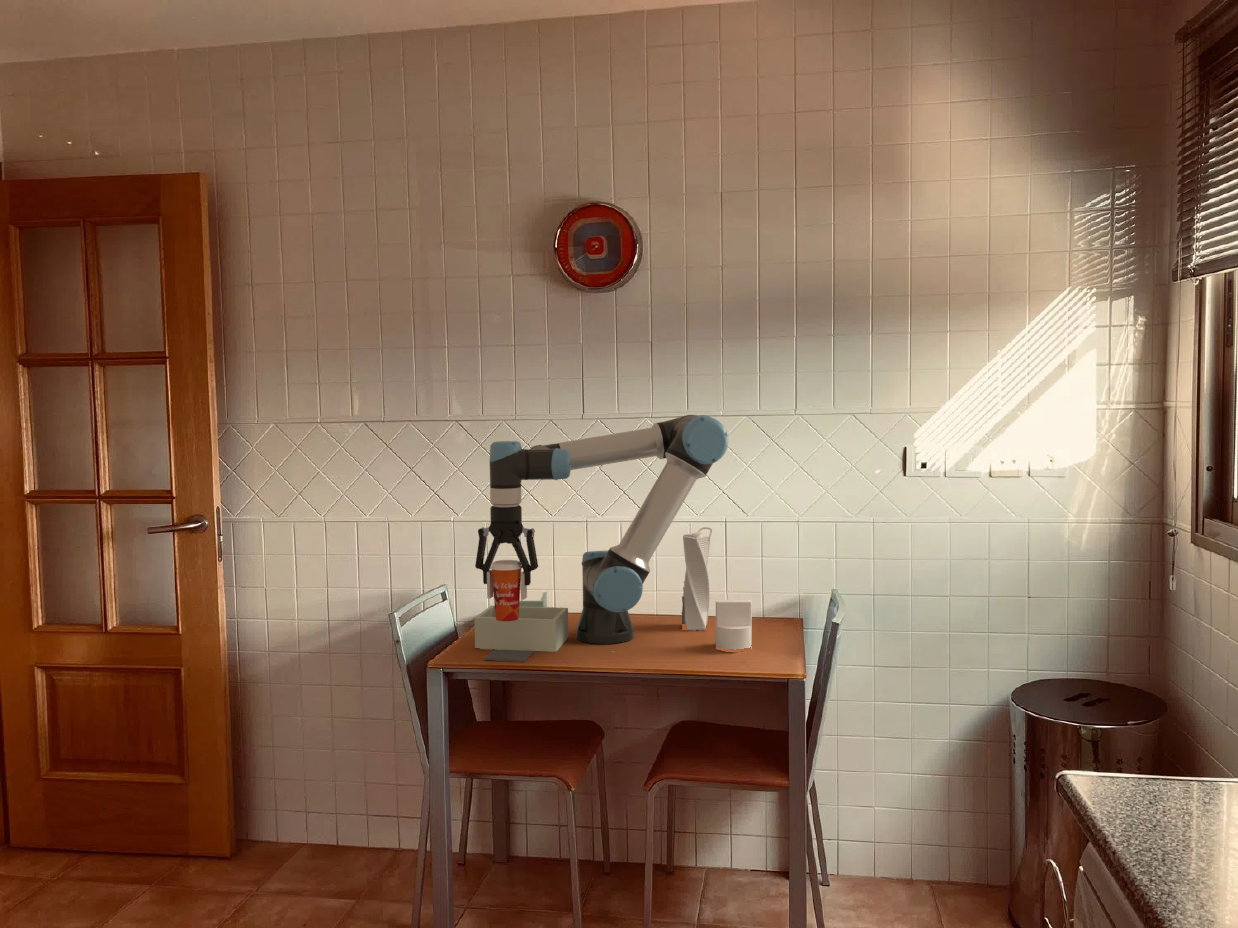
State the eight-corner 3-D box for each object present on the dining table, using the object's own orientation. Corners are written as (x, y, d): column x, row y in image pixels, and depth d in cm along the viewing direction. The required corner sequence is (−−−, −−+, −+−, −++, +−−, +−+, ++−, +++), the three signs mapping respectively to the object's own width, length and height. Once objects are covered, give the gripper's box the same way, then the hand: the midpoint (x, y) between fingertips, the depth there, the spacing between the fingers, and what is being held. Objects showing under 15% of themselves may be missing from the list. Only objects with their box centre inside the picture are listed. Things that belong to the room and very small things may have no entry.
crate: (568, 637, 255) (568, 607, 254) (556, 651, 241) (555, 620, 240) (491, 634, 258) (491, 605, 258) (475, 648, 244) (474, 617, 244)
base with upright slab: (716, 652, 239) (716, 604, 238) (714, 643, 248) (714, 597, 247) (753, 652, 239) (753, 604, 238) (749, 643, 248) (749, 597, 247)
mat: (532, 653, 240) (532, 650, 240) (524, 662, 232) (524, 659, 232) (493, 651, 242) (493, 649, 242) (484, 660, 234) (483, 657, 234)
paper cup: (487, 622, 233) (486, 564, 232) (495, 614, 240) (494, 559, 239) (519, 622, 232) (518, 565, 231) (526, 615, 239) (525, 559, 238)
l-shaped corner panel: (547, 618, 277) (546, 592, 277) (543, 628, 265) (543, 601, 265) (505, 618, 277) (504, 592, 277) (499, 628, 265) (499, 601, 265)
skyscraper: (711, 625, 268) (711, 525, 266) (712, 633, 260) (712, 529, 258) (681, 625, 268) (681, 525, 266) (680, 632, 260) (680, 529, 258)
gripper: (551, 503, 236) (552, 595, 238) (469, 502, 239) (471, 593, 241) (543, 507, 229) (544, 602, 230) (459, 506, 232) (461, 599, 234)
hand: (507, 597), depth 236 cm, fingers closed on paper cup, 8 cm apart
